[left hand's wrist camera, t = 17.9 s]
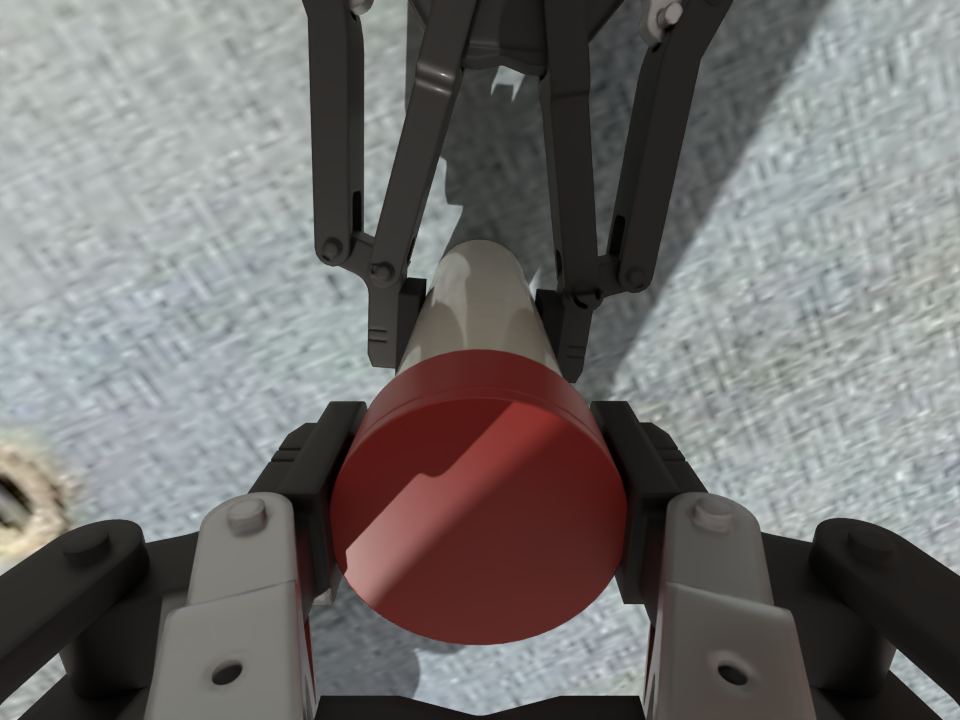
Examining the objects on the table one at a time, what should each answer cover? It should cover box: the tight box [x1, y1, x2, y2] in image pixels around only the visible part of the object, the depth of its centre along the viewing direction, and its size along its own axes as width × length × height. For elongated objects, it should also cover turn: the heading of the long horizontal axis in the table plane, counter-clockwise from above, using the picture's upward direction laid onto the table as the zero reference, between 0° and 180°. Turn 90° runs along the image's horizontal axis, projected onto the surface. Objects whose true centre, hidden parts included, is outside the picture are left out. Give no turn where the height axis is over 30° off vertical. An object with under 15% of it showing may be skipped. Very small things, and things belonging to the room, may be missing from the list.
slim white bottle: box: [395, 240, 563, 378], centre depth 18 cm, size 4×4×18 cm
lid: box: [329, 349, 628, 645], centre depth 10 cm, size 5×5×2 cm
